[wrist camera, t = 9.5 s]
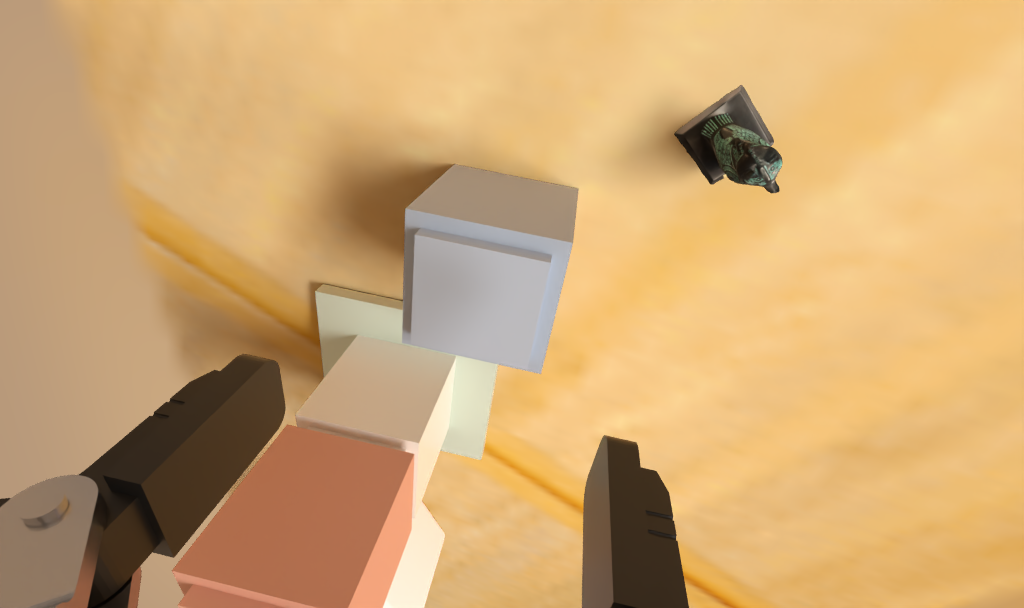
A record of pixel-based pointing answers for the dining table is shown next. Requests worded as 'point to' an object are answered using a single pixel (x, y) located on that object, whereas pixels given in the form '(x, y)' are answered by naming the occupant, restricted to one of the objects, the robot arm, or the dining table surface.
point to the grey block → (486, 265)
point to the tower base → (389, 325)
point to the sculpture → (732, 143)
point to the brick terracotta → (306, 528)
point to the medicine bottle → (417, 563)
